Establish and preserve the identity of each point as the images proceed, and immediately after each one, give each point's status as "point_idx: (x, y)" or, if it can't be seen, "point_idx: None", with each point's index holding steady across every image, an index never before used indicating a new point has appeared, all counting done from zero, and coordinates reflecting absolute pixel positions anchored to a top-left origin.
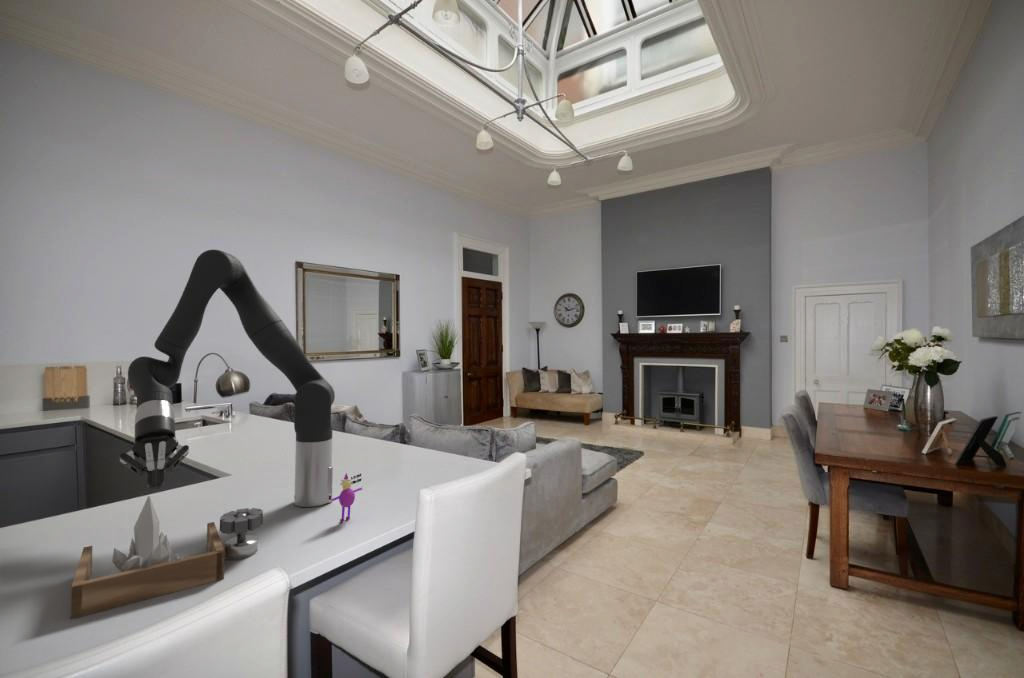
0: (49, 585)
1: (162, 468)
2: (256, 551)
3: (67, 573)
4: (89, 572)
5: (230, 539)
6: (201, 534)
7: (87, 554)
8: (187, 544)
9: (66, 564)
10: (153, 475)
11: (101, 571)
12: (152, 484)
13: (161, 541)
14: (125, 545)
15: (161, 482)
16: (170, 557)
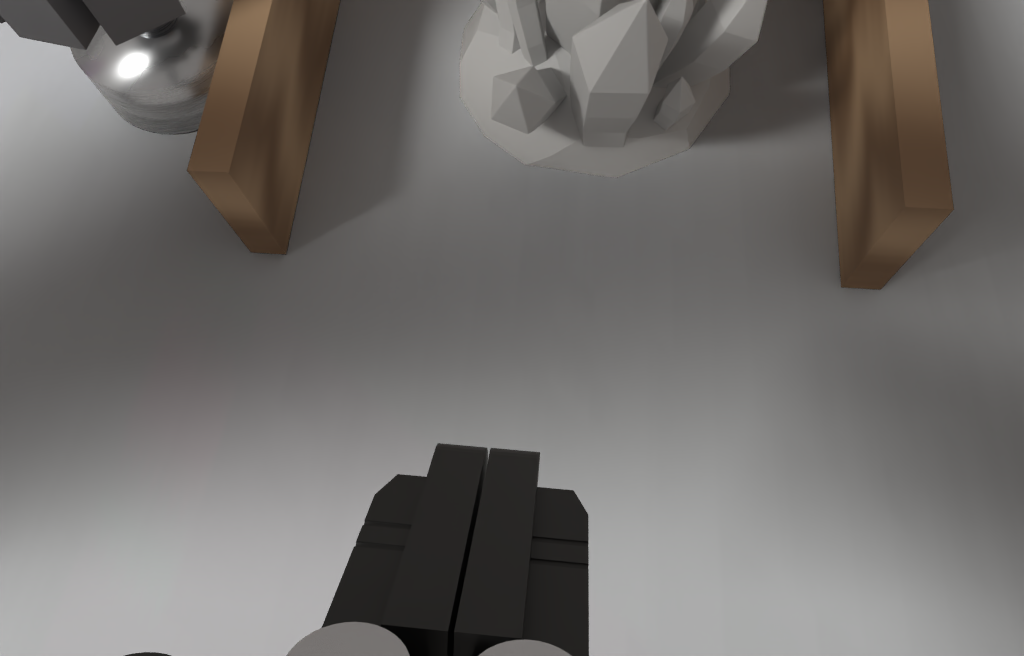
0: (1012, 251)
1: (326, 626)
2: None
3: (963, 360)
4: (852, 126)
5: (185, 78)
6: (244, 498)
7: (906, 74)
8: (360, 369)
9: (1004, 520)
10: (500, 554)
11: (794, 269)
12: (529, 452)
13: (524, 68)
14: (692, 640)
15: (413, 482)
16: (497, 4)
